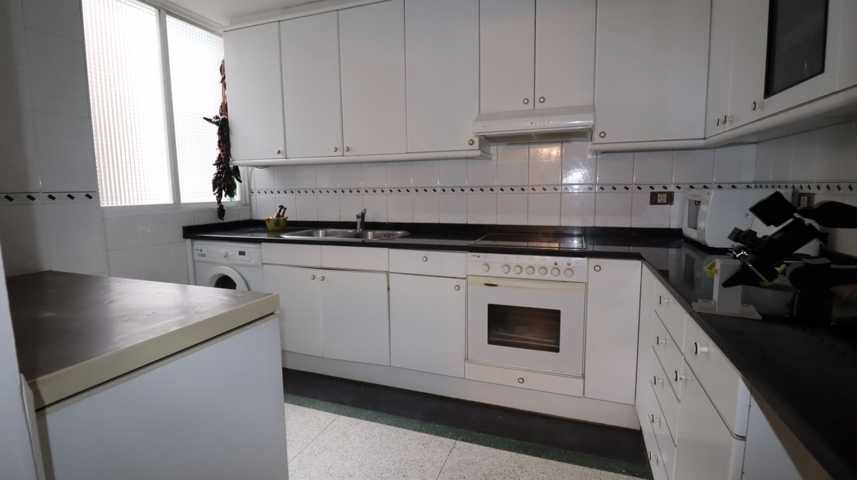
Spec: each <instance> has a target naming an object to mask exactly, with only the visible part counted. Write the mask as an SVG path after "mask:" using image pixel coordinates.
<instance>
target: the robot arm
mask: <svg viewBox="0 0 857 480" xmlns="http://www.w3.org/2000/svg"><path fill="white" fill-rule="evenodd" d="M747 210H748V211H749V212H750V213H751V214H752V215H753V216H754V217H756V218H757V219H758V220H759V221H760V222H761V223H763V224H764V225H765V227H767V228H768V227H771V226H773V227H774V228H776V229H777V228H779V227H780V228H779V229H777V230H776V231H774V232H773V233H771V234H763V235H762V236H758V232H757V231H756V230H753V229H751V228H746V229H745V230H743V229H740V228H739V227H736V226H734V228H733V229H732V230H731V231H730V233H729V234H728V235H727V239H728V240H729V241H732V242H734V243H736V244H737V243H738V245H736V246H735V247H733V248H732V249H731V250H732V252H731V259H732V260H739V261H740V267H739V269H738V270H737V271H736V272H734V273H733V274H732V275H731V276H730V277H729V278H728V279H726V280H725V281H724V282H723V283H722V284H721V285H722V286H723V287H724V288H729V287H734V286H739V285H742V286H743V285H749V284H755V283H759V282H764V280H763V279H762V278H763V277H764V278H765V279H766V280H767V281H768V282H770V283H771V282H772V281H773V282H774V281H775V280H777V279H779V275H780V274H779V271H778V270H777V269H775V268H776V267H775V265H777V264H778V263H780V262H781V261H782V260H785V259H788V260H789V259H791V258H793V257H794V255H793V254H794V253H796V252H797V251H800V249H802V248H803V247H805V246H807V245H809V244H810V243H813V242H814V241H817V243H819V244H821V245H828V243H829V235H830V232H829V231H821V230H819V229H818V228H817V227H816V226H815V225H814V224H813V223H815V224H817V226H818V225H819V226H821V227H822V228H823V227H824V228H826V229H846V230H853V229H854V230H857V206H855V205H852V204H849V203H848V204H847V203H844V202H841V201H836V200H831V199H829V200H828V199H827V200H822V201H818V202H817V203H815V204H814V205H809V206H802V205H800V206H795V204H793V203H792V202H791V201H789V200H788V199H787V198H786V197H785V196H784V194H783V193H782V192H781V191H779V190H776V191H774V192H772V193H770V194H769V195H767V196H766V197H764V198H761V199H760V200H758V201H757V202H756V203H753V205H751V206H749V208H748V209H747ZM795 214H796V215H797V216H799V217H800V218H803V219H806V220H811V221H812V222H813V223H811V222H807V223H805V222H803V221H802V220H800V219H799V218H798V217H797V216H796V215H795ZM790 220H791V221H790ZM788 221H790V222H788ZM787 222H788V223H787ZM786 223H787V224H786ZM784 224H785V225H784ZM782 225H784V226H782ZM781 226H782V227H781ZM785 276H786V279H787V281H788V283H790V285H791V286H792V287H793V288H795V289H796V291H794V292H792V297H791V298H790V302H789V309H788V310H789V311H788V315H784V316H783V318H784V319H787V320H790V321H792V322H795V323H799V324H802V325H804V326H807V327H811V328H821V327H824V328H825V327H837V326H838V323H837V322H833V321H832V319H833V312H834V305H835V304H834V303H835V297H836V296H837V292H836V291H834V289H833V288H836V287H840V286H846V285H857V264H852V265H850V264H849V265H847V264H846V265H841V264H832V261H831V260H829V259H828V258H827V257H819V258H814V259H807V258H803V257H802V258H801V260H800V261H795V262H792V263H790V265H788V266H787V268H786V270H785Z"/></svg>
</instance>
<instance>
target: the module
mask: <svg viewBox="0 0 857 480" xmlns="http://www.w3.org/2000/svg"><path fill="white" fill-rule="evenodd" d="M715 259H716V258H715ZM739 267H740V261H739V260H732V258H731V259H729V258H719V259H716V264H715V268H713V273H714V274H715V277H714V278H713V280H714V281H713V291H712V292H713V293H712V301H716V303H717V304H716V312H721V313H731V314H740V304H742V302H741V301H742V291H743V290H742V289H743V285H739V286H734V287H729V288H724V287H723V286H722V285H721V284H722V283H723V282H724V281H725V280H726V279H728V278H729V277H730V276H731V275H732V274H733V273H734V272H736V271H737V270H738V269H739Z"/></svg>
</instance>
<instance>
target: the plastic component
mask: <svg viewBox="0 0 857 480" xmlns="http://www.w3.org/2000/svg"><path fill="white" fill-rule="evenodd" d="M716 259H720V257H716V258H715V259H714V260H712V261H711V262H710V263H709V264H707V266H706V267H705V268H704V269H705V272H706V275H707V277H708V278H711V279H714V277H715V274H714V273H713V268H715V264H716ZM786 267H787V264H782V265H781V266H780V267H775V269H777V270H778V271H779V275H780V274H781V273H782V272H783V271H784V270H785V268H786ZM762 279H763V280H764V282H758V285H761V287H765V286H767V287H771V286H772V285H773V284H774V281H772V282H771V283H770V282H768V281H767V280H766V279H765V278H764V277H763V278H762Z"/></svg>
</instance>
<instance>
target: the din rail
mask: <svg viewBox="0 0 857 480" xmlns="http://www.w3.org/2000/svg"><path fill="white" fill-rule="evenodd" d="M716 304H717V303H716V301H713V300H709V299H701V298H698V299H697V302H695V301H694V302H693V301H692V302H691V305H692V307H693V310H694V312H696V313H705V314H713V315H720V316H721V315H722V316H727V317H737V318H742V319H743V318H745V319H752V320H762V319H763V317H762V316H761V315H760V314H759V312H758V311H757V310H756V307H755V306H754V305H753V304H748V303H747V304H745V303H741V304H740V314H731V313H721V312H716Z"/></svg>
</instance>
